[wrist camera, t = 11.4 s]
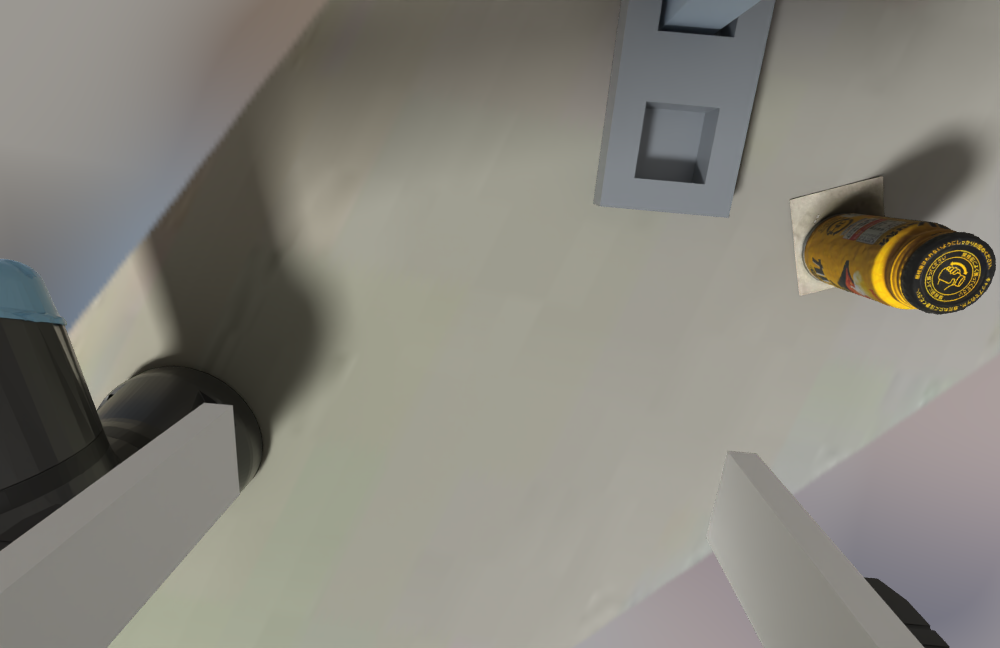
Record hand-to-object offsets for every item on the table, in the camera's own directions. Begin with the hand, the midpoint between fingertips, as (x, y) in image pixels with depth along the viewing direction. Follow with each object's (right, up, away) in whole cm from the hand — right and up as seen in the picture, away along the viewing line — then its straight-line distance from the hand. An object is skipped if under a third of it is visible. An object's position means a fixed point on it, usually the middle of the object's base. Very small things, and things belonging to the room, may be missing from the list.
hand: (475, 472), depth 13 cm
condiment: (+29, +11, +29) cm, 43 cm away
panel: (+14, +23, +26) cm, 37 cm away
